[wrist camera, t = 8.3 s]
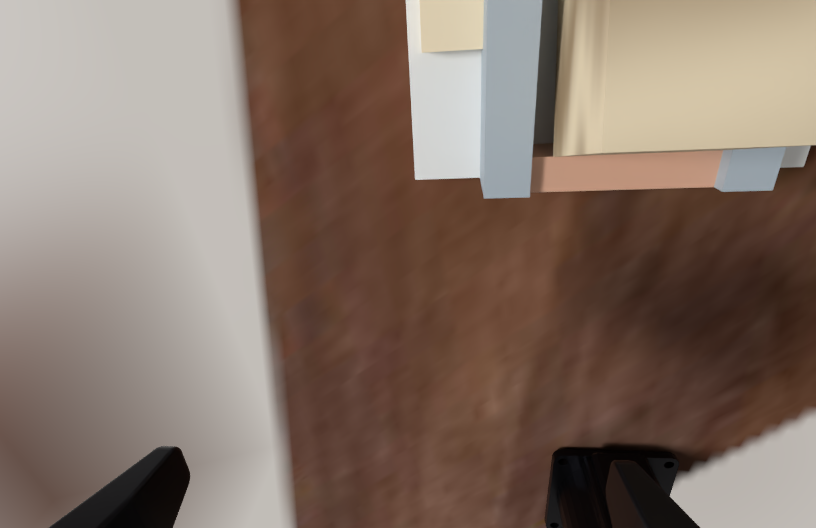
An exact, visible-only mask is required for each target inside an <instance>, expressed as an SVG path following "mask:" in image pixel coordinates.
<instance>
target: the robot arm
mask: <svg viewBox="0 0 816 528" xmlns="http://www.w3.org/2000/svg"><path fill="white" fill-rule="evenodd" d="M678 467H679V462H678V460H677V458H676V456H675V455H674V454H672V453H669V452H639V451H603V450H567V449H561V450H557V451H555V452H554V453H553V455H552V462H551V471H550V479H549V487H548V495H547V504H546V512H545V523H546V527H547V528H700V527H699V526H698V525H697V524H696V523H695V522H694V521H693V520H692V519H691V518H690V517H689V516H688V515H687V514H686V513H685V512H684V511H683V510H682V509H681V508H680V507H679V506H678V505H677V504H676V503H675V502H674V501H673V500H672V499H671V498H670V493H671V490H672V486H673V483H674V480H675V476H676V473H677V470H678ZM189 481H190V472H189V469H188V466H187V464H186V461H185V459H184V456H183V454H182V451H181V449H180V448H178V447H171V446H170V447H169V446H161V447H158V448H156V449H155V450H153V451H152V452H151V453H150V454H148V455H147V456H146V457H144V458H143V459H141V460H140V461H139V462H137V463H136V464H134V465H133V466H132V467H130V468H129V469H128V470H126V471H125V472H124V473H122V474H121V475H120V476H118V477H117V478H115V479H114V480H113V481H111V482H110V483H109V484H107V485H106V486H105V487H103V488H102V489H101V490H99V491H98V492H96V493H95V494H94V495H92V496H91V497H90V498H88V499H87V500H86V501H84V502H83V503H81V504H80V505H79V506H78V507H76V508H75V509H73V510H72V511H71V512H69V513H68V514H67V515H65V516H64V517H62V518H61V519H60V520H59V521H57V522H56V523H54V524H53V525H52V526H50V527H49V528H173V525H174V523H175V520H176V517H177V515H178V512H179V509H180V506H181V504H182V501H183V498H184V496H185V493H186V490H187V487H188V484H189Z"/></svg>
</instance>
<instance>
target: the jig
mask: <svg viewBox="0 0 816 528" xmlns="http://www.w3.org/2000/svg"><path fill="white" fill-rule="evenodd" d="M406 14H407V33H408V52H409V71H410V90H411V109H412V128H413V147H414V166H415V180H421V179H452V178H480V181H481V186H482V191H483V196H484V198H519V197H530V192H562V191H597V190H631V189H665V188H699V187H715V188H716V189H718V190H720V191H722V192H731V191H766V190H773V188H774V185H775V181H776V178H777V175H778V172H779V169H780V168H784V167H804V164H805V162H806V159H807V156H808V153H809V150H810V147H811V145H809V146H791V147H772V148H754V149H735V150H717V151H698V152H671V153H644V154H617V155H590V156H563V157H553V144H554V113H555V82H556V51H557V20H558V0H406Z"/></svg>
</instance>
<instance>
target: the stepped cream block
mask: <svg viewBox="0 0 816 528" xmlns="http://www.w3.org/2000/svg"><path fill="white" fill-rule="evenodd" d="M809 145H816V0H558V20H557V51H556V82H555V113H554V144H553V157H563V156H590V155H617V154H644V153H671V152H698V151H717V150H735V149H754V148H772V147H791V146H809Z"/></svg>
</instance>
